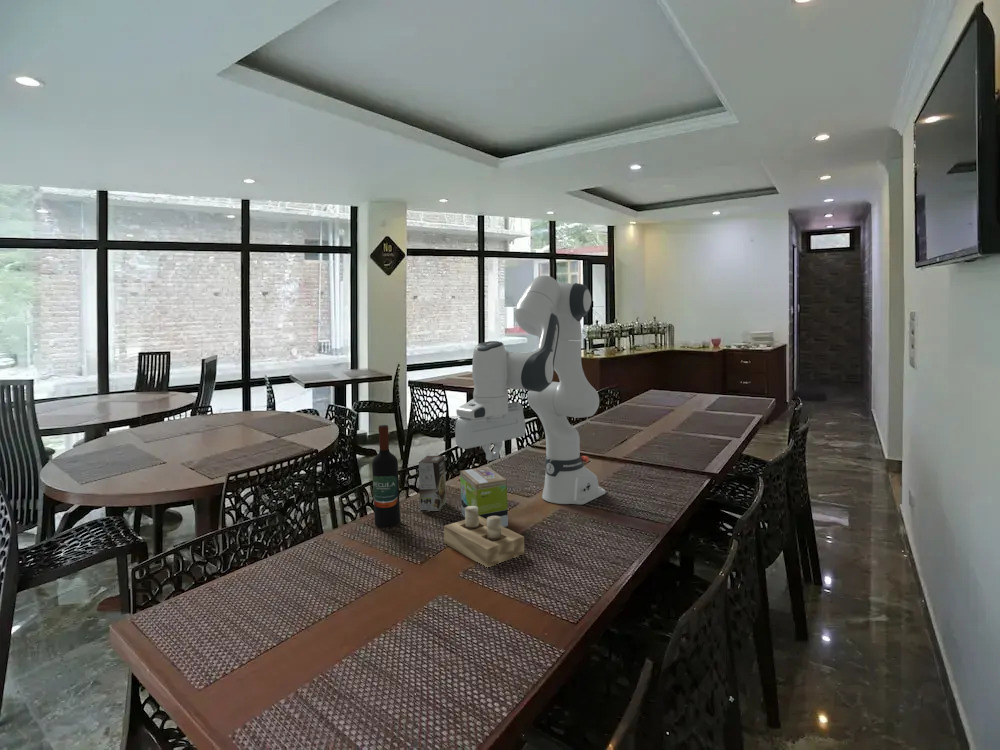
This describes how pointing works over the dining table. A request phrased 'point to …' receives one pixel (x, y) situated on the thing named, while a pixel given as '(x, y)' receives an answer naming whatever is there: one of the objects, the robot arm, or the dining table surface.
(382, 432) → the wine bottle
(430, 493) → the coffee box
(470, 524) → the wooden peg holder
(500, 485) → the tea box
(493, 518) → the birch peg
